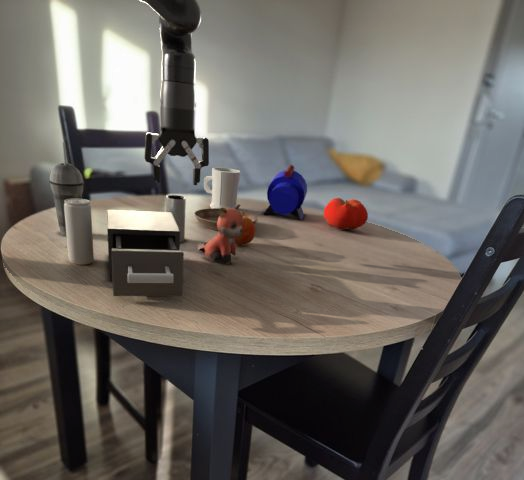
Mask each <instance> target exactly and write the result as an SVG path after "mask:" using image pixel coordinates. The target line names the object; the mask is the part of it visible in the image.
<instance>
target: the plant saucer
mask: <svg viewBox="0 0 524 480" xmlns="http://www.w3.org/2000/svg"><path fill="white" fill-rule="evenodd" d="M219 209H220V208H211V207H209V208H202V209H198V210H196V211H195V212H193V213H194V214H193V215H194V217H195V219H196V220H197V222H199V224H200V225H201V226H202V227H204V228H207V229H210V230H214V231H218V228H217V221H218V218H219V216H220V215H219ZM238 210H239V211H240V212H241V213H242V215H243V212H244V215H243V216H246V217H248V218H249V219H251V220H252V221H253V223H254V225H255V224H256V223H257V221H258V216H257V215H256V214H253V213H251V212H248V211H243V210H240V209H238Z"/></svg>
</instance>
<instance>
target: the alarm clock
mask: <svg viewBox="0 0 524 480" xmlns="http://www.w3.org/2000/svg"><path fill="white" fill-rule="evenodd" d="M307 193H308V185H307V182H306V179H305V178H304V177H303V175H302V174H301V173H299V172H298V171H295V166H294V165H293V164H289V165H288V167H287V169H284V170H282V171H279V172H278V173H277V174H275V175H274V177H273V179H272V180H271V182H270V183H269V185H268V187H267V191H266V196H267V197H266V198H267V202H268V204H269V205H268V207H267V208H266V210H265V211H264V213H263V215H266V214H270V213H273V212H275V213H276V214H279V215H281V216H283V215H289V214H290V215H291V216H293V217H294V218H296V219H298V220H299V221H302V218H304V216H305V213H304V210H303V208H302V206H303V204H304V201H305V199H306V197H307Z"/></svg>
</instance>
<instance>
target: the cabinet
mask: <svg viewBox="0 0 524 480" xmlns="http://www.w3.org/2000/svg"><path fill="white" fill-rule="evenodd" d="M106 211H107V212H106V213H107V219H106V220H107V221H106V222H107V223H106V226H107V227H106V229H107V251H108V253H107V254H108V275H109V278H108V279H109V282H113V275H112V249H116V234H130V235H160V236H172V238H173V241H174V243H175V246H176V248H177V250H181V249H180V247H181V242H180V230H179V228H178V226H177V224H176V222H175V220H174V217H173V215H172V213H171V212H166V211H152V210H151V211H147V210H130V209H129V210H128V209H127V210H126V209H106Z"/></svg>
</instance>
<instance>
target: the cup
mask: <svg viewBox="0 0 524 480" xmlns="http://www.w3.org/2000/svg"><path fill="white" fill-rule="evenodd" d="M240 178H241V170H239V169H235V168H229V167H212V168H211V175H207V176H205V177H204V178H203V190H204V191H205V192H206V193H207V194H211V202H210V203H209V208H221V207H223V208H225V209H228V208H232V209H233V208H235V207H236V206H237V205H238V204H237V203H238V194H239V193H238V192H239V185H240ZM210 181H211V187H212V188H211V187H210V186H209V182H210Z"/></svg>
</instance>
